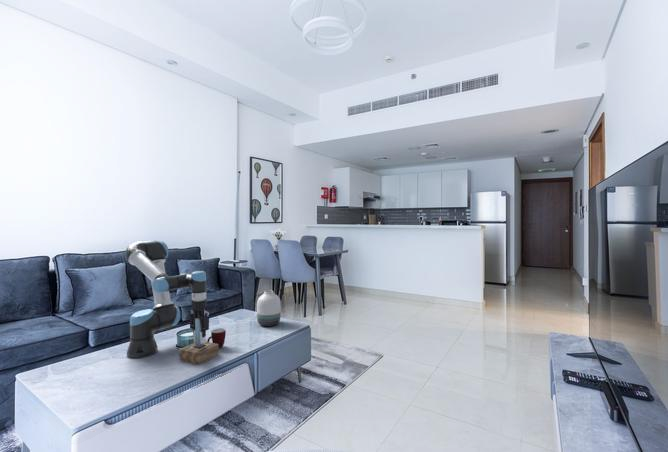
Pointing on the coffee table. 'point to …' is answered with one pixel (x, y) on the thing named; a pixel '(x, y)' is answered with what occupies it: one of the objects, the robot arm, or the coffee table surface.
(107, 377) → the coffee table surface
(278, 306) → the vase
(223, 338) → the mug
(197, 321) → the peg
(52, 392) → the coffee table surface
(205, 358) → the socket block
